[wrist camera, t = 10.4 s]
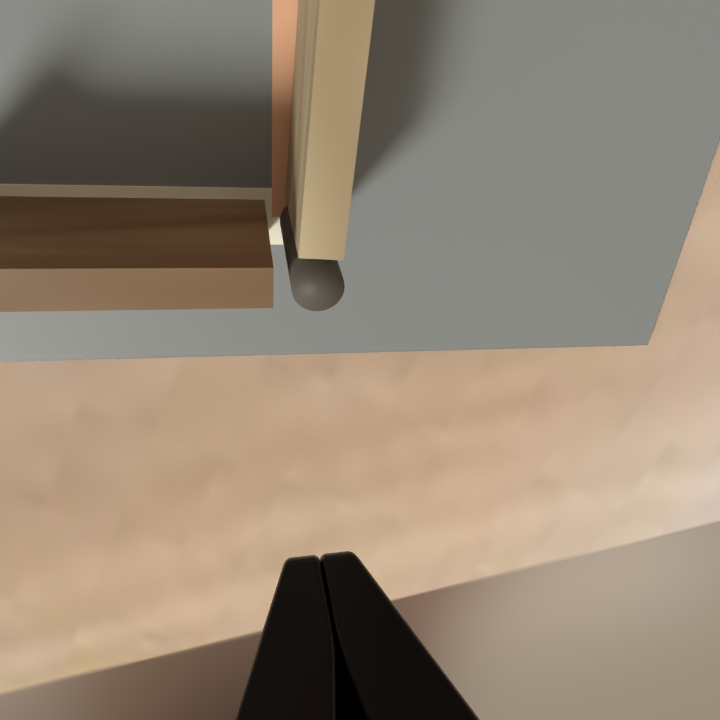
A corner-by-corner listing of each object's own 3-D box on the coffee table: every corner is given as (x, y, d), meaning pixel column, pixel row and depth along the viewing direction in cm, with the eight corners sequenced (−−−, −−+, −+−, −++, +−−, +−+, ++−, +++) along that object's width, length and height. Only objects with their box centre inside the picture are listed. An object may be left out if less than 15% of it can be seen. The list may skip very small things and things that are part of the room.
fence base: (-72, 182, 17) (-157, 262, 13) (264, 188, 18) (274, 260, 15) (-55, 243, 18) (-131, 334, 14) (264, 243, 19) (274, 326, 15)
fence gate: (278, 240, 19) (289, 310, 16) (314, -311, 13) (344, -385, 10) (321, 242, 19) (341, 311, 16) (376, -298, 13) (426, -366, 10)
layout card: (-363, -474, 11) (-379, -484, 11) (857, -280, 15) (869, -284, 15) (-88, 358, 20) (-92, 365, 19) (643, 340, 24) (648, 345, 23)
